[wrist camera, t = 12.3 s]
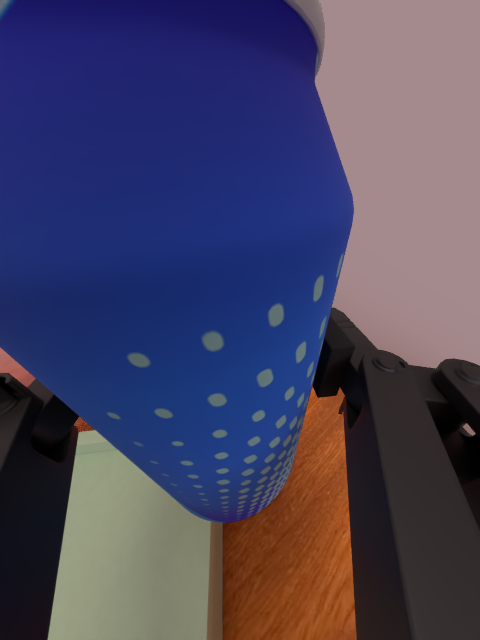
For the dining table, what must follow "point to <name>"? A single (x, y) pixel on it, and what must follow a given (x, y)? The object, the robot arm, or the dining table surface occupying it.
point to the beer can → (172, 230)
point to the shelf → (133, 557)
